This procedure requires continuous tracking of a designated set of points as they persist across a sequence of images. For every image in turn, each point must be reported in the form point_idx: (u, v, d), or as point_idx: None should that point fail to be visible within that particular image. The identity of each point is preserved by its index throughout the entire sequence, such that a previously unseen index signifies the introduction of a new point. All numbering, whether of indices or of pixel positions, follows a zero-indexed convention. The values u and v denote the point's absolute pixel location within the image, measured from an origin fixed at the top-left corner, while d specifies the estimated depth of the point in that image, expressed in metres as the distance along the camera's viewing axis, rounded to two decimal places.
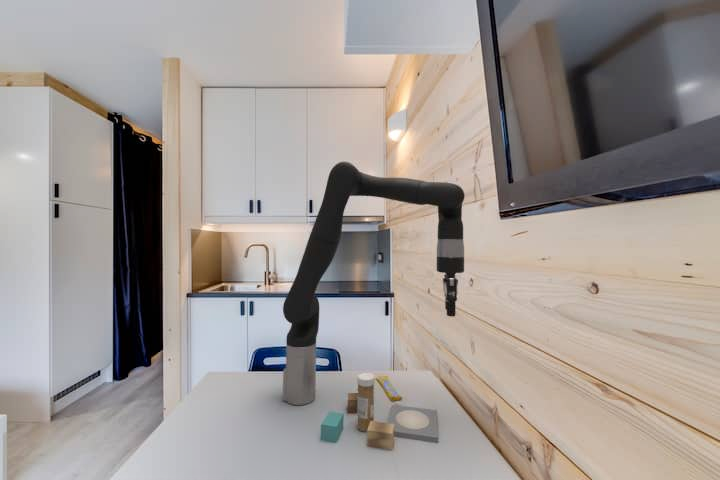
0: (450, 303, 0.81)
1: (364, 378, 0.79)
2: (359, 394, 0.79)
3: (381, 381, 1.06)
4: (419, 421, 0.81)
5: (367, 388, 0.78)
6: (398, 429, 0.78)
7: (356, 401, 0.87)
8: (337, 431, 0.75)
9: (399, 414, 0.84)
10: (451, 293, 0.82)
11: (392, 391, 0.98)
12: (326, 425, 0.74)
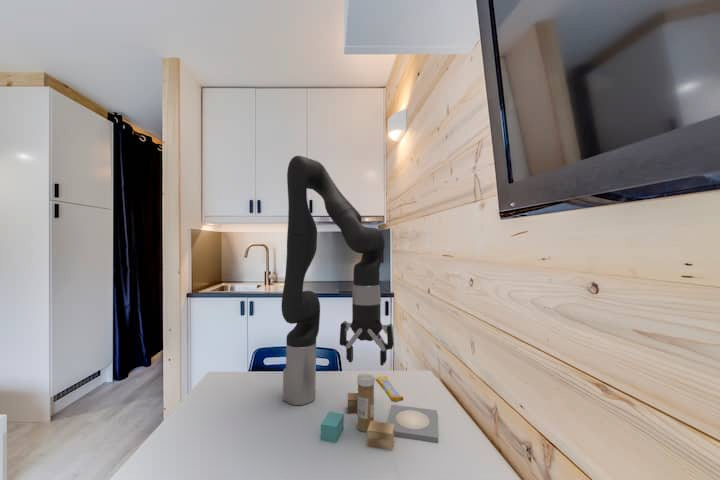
0: (386, 351, 0.79)
1: (364, 378, 0.79)
2: (359, 394, 0.79)
3: (381, 381, 1.05)
4: (419, 421, 0.81)
5: (367, 388, 0.78)
6: (398, 429, 0.78)
7: (356, 401, 0.87)
8: (337, 431, 0.75)
9: (399, 414, 0.84)
10: None
11: (393, 391, 0.98)
12: (326, 425, 0.75)
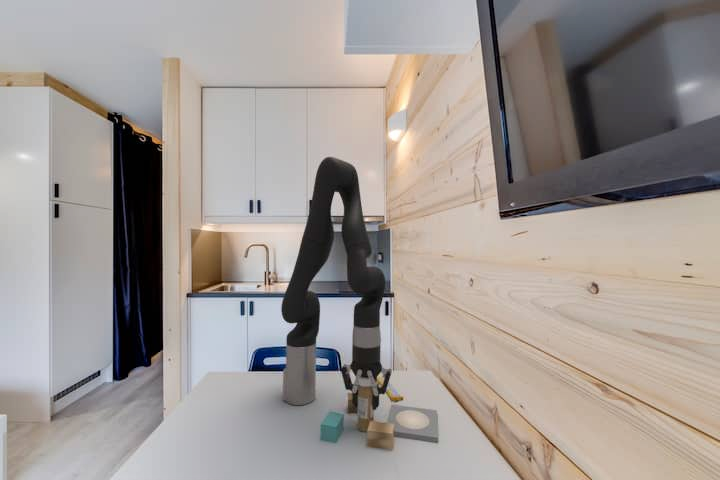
0: (378, 395, 0.80)
1: (364, 378, 0.79)
2: (359, 394, 0.79)
3: (381, 381, 1.05)
4: (419, 421, 0.81)
5: (367, 388, 0.78)
6: (398, 429, 0.78)
7: None
8: (337, 431, 0.75)
9: (399, 414, 0.84)
10: None
11: (392, 391, 0.98)
12: (326, 425, 0.75)
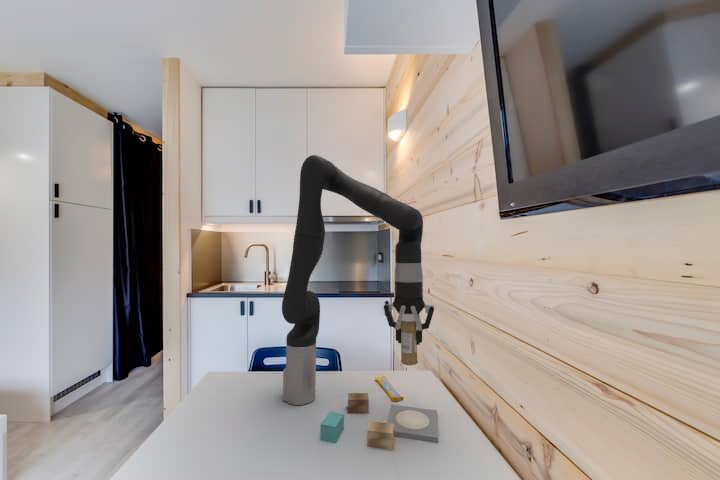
0: None
1: (407, 314, 0.81)
2: (403, 330, 0.81)
3: (380, 382, 1.05)
4: (419, 421, 0.81)
5: (410, 323, 0.80)
6: (398, 429, 0.78)
7: (356, 401, 0.87)
8: (336, 431, 0.75)
9: (399, 414, 0.84)
10: None
11: (393, 391, 0.98)
12: (325, 425, 0.75)
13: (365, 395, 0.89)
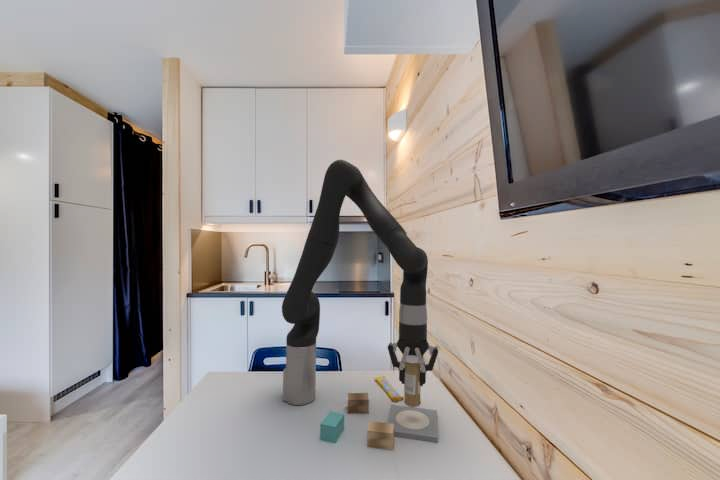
0: None
1: (411, 355, 0.81)
2: (406, 371, 0.81)
3: (380, 382, 1.05)
4: (419, 421, 0.81)
5: (414, 364, 0.80)
6: (398, 429, 0.78)
7: (356, 401, 0.87)
8: (336, 431, 0.75)
9: (399, 414, 0.84)
10: None
11: (393, 391, 0.98)
12: (325, 425, 0.75)
13: (365, 395, 0.89)
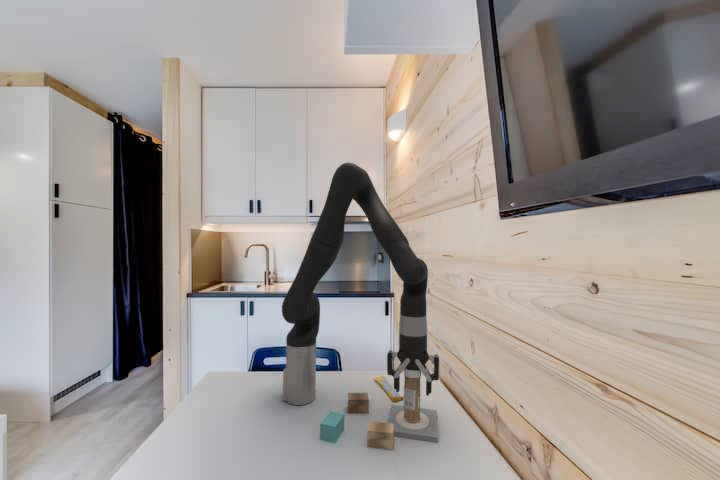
0: None
1: (411, 370, 0.81)
2: (406, 386, 0.81)
3: (380, 382, 1.05)
4: (419, 421, 0.81)
5: (414, 379, 0.81)
6: (398, 429, 0.78)
7: (356, 401, 0.87)
8: (336, 431, 0.74)
9: (399, 414, 0.84)
10: None
11: (393, 391, 0.97)
12: (325, 424, 0.75)
13: (365, 395, 0.89)
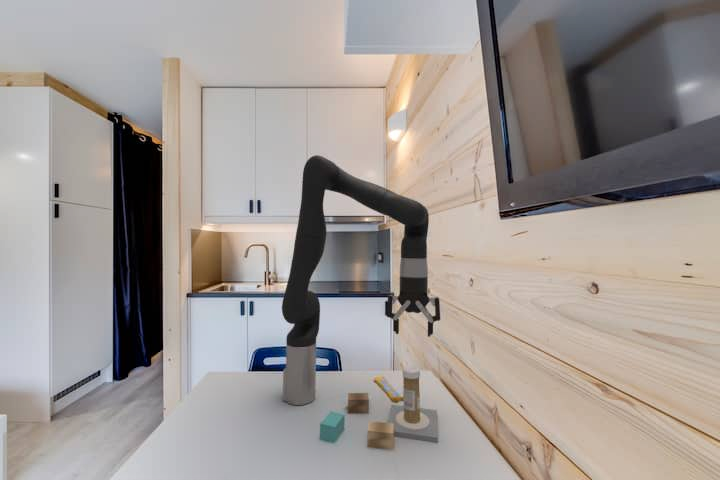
0: None
1: (410, 371, 0.81)
2: (405, 386, 0.81)
3: (380, 382, 1.05)
4: (419, 421, 0.81)
5: (413, 380, 0.80)
6: (398, 429, 0.78)
7: (356, 401, 0.87)
8: (336, 431, 0.74)
9: (399, 414, 0.84)
10: None
11: (393, 392, 0.97)
12: (325, 424, 0.75)
13: (365, 395, 0.89)
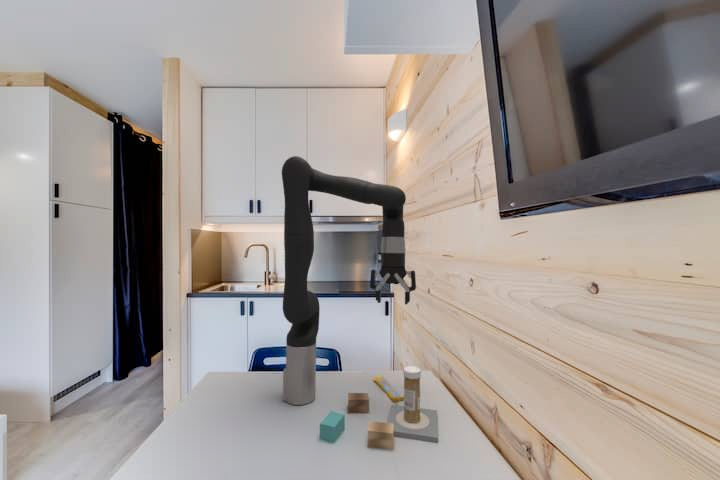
0: (409, 292, 0.94)
1: (411, 371, 0.81)
2: (406, 386, 0.81)
3: (379, 382, 1.05)
4: (419, 421, 0.81)
5: (414, 380, 0.80)
6: (398, 429, 0.78)
7: (356, 401, 0.87)
8: (335, 431, 0.74)
9: (399, 414, 0.84)
10: None
11: (393, 392, 0.97)
12: (325, 424, 0.75)
13: (365, 395, 0.89)
